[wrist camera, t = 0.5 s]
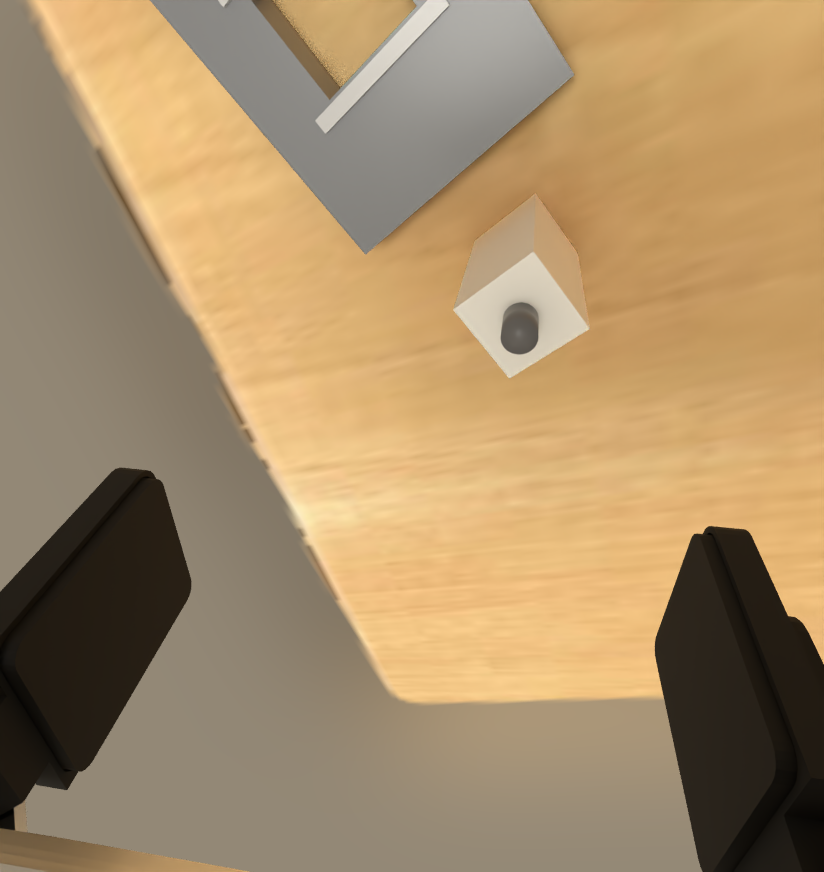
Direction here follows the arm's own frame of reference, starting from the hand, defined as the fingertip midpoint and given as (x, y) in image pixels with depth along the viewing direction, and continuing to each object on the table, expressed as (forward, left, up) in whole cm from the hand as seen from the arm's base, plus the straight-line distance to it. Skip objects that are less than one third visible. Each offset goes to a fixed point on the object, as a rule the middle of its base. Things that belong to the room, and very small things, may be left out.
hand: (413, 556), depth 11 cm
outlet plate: (+1, -12, -30) cm, 32 cm away
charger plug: (+1, +4, -30) cm, 30 cm away
